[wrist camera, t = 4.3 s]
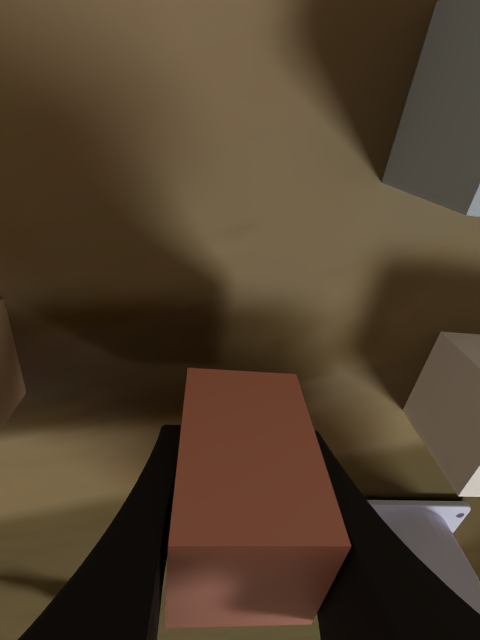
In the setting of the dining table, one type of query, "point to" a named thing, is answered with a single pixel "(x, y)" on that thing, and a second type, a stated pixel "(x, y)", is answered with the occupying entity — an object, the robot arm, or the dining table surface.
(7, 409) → the walnut block
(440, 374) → the pale grey block
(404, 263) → the dining table surface
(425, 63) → the blue-grey block
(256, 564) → the brick-red block
